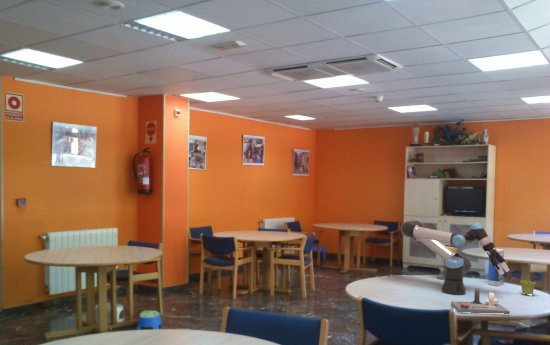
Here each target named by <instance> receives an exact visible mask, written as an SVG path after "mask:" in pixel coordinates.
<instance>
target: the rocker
mask: <svg viewBox="0 0 550 345" xmlns="http://www.w3.org/2000/svg"><path fill="white" fill-rule="evenodd" d="M485 303H487V304H489V299H486V300H485ZM494 304H499V300H498V299H496V298H494Z"/></svg>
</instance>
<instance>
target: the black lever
mask: <svg viewBox="0 0 550 345" xmlns="http://www.w3.org/2000/svg"><path fill="white" fill-rule="evenodd" d="M480 291H481V289H480V288H474V295H473V296H474V298H473V299H474V300H472V301H471V302H472V303H473V304H481V303H482V301H480V296H481V295H480Z"/></svg>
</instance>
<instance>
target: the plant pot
mask: <svg viewBox="0 0 550 345" xmlns="http://www.w3.org/2000/svg"><path fill="white" fill-rule="evenodd" d="M519 282H520V285H521V293H524V294H533V295H534V290H535V286H536V282H534V281H531V280H530V281H528V280H520V281H519Z"/></svg>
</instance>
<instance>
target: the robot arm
mask: <svg viewBox="0 0 550 345" xmlns="http://www.w3.org/2000/svg"><path fill="white" fill-rule="evenodd" d="M400 232H401V234H402V235H403V236H404V237H406V238H412V239H414V240H415V241H417V242H418V241H419V242H421V243H422V244H424V245H425V246H426V247H427V248H428V249H430V250H431V251H432V252H433V253H435V254H436V255H437V256H438V257H440V258H441V259H442V260H443V261H444V260H445V280H443V284H442V287H441V292H442V293H444V294H448V295H454V296H455V295H456V296H459V295H460V296H461V295H466V287H465V285H464V275H465V274H468V273H469V272H470V271H471V269H472V261H471V260H470V259H469V258H468V257H466V256H464V255H462V254H460V253H459V252H458V251H457V252H453V251H451V250H450V249H449V248H448V247H446V246H445V245H446V244H450V245H453V246H455V247H463V248H464V247H466V246H468V245H469V244H471V243H473V242H474V241H476V240H477V243H478V244H479V245H480V247H482V248H481V249H482V250H483V251H484V252H486V254H487V256H488V259H489V258H490V261H491V263H492V265H493V267H494V266H495V268H496V269H497V271H498V272H499V274H500V275H502V274H503V275H504V274H505V273H508V272H510V268H509V267H508V265H507V264H506V260H505V258H504V259H503V258H502V256H501V255H500V254H499V253H498V252H497V250H496V249H497V248H496V245H495V244H494V243H493V242H492V239H491V237H489V235H488V234H487V231H486V230H485V228H484V227H483V226H482V224H481V223H480V222H476V223H474V224H472V225H470V226H469V230H468V231H466V232H464V233H460V234H459V233H453V232H448V231H444V230H438V229H432V228H427V227H425V225H424V223H423V222H422V221H420V220H417V219H416V220H407V221H405V222H403V223H402V224H401V226H400ZM444 243H446V244H444ZM496 259H497V260H498V261H499V262H500V263H501V265H502V267H503V268H504V269H503V270H502V269H501V267H500V266H499V264H498V263H497V260H496Z"/></svg>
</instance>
